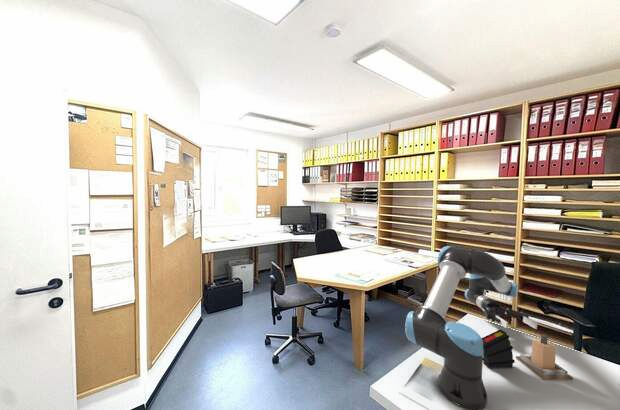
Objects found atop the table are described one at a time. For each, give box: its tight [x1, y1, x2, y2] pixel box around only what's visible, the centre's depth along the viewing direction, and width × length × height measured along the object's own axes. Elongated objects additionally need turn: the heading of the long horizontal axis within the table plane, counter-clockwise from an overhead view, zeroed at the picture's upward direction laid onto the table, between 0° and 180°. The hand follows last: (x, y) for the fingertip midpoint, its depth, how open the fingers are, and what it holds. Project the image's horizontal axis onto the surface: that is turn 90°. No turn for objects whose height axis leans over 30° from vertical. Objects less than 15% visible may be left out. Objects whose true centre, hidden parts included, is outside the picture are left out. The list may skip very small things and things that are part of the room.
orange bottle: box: [530, 334, 557, 370], centre depth 99 cm, size 5×5×13 cm
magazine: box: [481, 328, 516, 369], centre depth 101 cm, size 4×13×15 cm, turn 92°
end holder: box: [515, 354, 574, 381], centre depth 100 cm, size 12×12×2 cm
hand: (521, 325), depth 111 cm, fingers open, 13 cm apart
